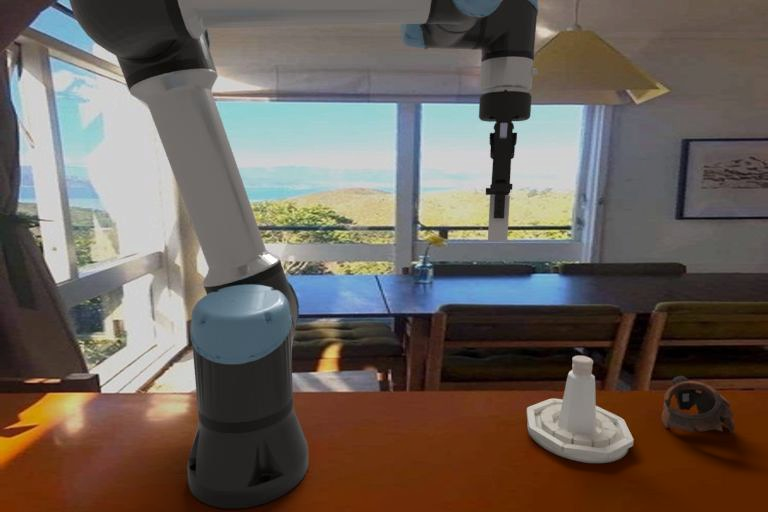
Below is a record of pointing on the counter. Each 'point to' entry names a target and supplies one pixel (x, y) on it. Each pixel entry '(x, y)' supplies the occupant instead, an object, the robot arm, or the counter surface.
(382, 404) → the counter surface
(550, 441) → the dish
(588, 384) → the pepper shaker
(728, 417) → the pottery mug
